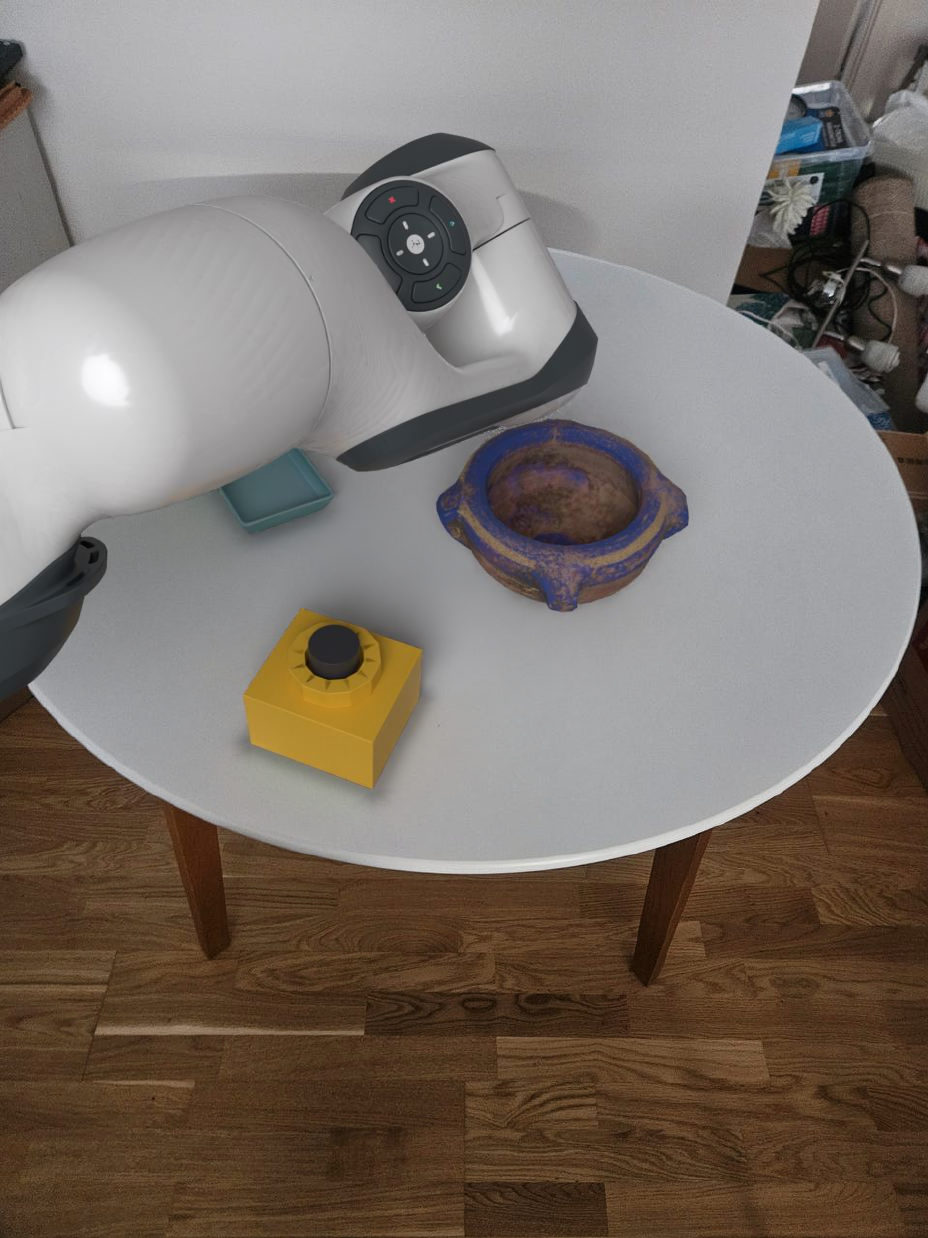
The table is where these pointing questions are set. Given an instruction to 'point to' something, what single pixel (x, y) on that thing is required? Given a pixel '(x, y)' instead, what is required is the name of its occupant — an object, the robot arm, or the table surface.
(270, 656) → the yellow push button box
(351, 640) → the black cylinder
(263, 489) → the rectangular tray
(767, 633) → the table surface
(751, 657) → the table surface
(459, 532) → the bowl
